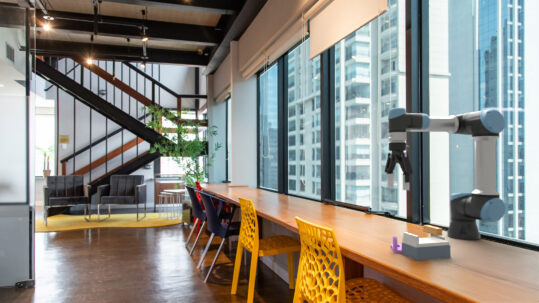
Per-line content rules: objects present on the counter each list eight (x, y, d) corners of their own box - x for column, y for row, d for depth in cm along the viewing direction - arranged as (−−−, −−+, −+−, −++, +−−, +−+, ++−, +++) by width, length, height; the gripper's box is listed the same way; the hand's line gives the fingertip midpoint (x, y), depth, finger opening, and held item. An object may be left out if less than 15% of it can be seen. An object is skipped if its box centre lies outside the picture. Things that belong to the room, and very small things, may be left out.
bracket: (407, 253, 152) (407, 237, 152) (394, 253, 153) (394, 237, 153) (402, 246, 164) (402, 231, 164) (390, 246, 165) (389, 231, 166)
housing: (433, 247, 163) (433, 236, 163) (462, 256, 146) (462, 244, 146) (392, 250, 157) (391, 238, 157) (417, 260, 141) (417, 248, 141)
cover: (434, 240, 154) (433, 230, 154) (449, 245, 145) (449, 234, 145) (402, 242, 150) (402, 232, 150) (416, 247, 141) (416, 236, 141)
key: (428, 244, 164) (428, 224, 164) (445, 250, 153) (445, 229, 153) (423, 245, 163) (423, 225, 163) (440, 251, 152) (440, 229, 153)
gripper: (377, 143, 171) (377, 186, 171) (404, 140, 147) (405, 191, 146) (391, 143, 173) (392, 186, 172) (420, 140, 148) (421, 191, 147)
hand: (398, 188), depth 159 cm, fingers open, 13 cm apart
